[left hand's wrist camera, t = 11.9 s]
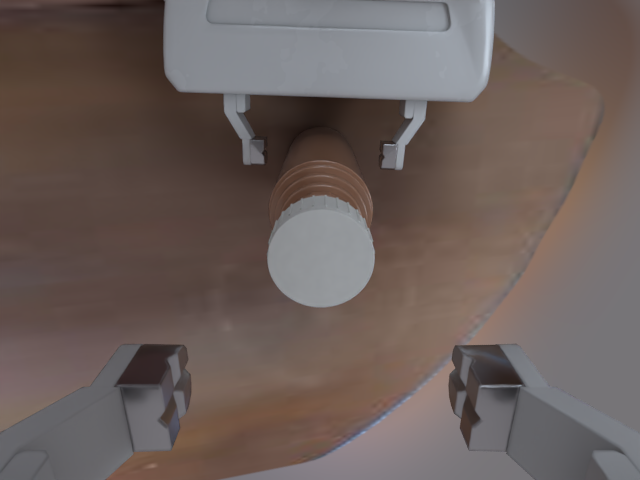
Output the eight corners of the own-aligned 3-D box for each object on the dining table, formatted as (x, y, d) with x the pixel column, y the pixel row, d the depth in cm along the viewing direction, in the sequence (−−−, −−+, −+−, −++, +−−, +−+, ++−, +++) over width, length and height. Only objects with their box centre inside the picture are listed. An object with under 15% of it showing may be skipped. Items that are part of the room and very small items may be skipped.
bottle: (295, 197, 37) (270, 326, 18) (280, 134, 35) (236, 205, 16) (358, 185, 36) (398, 303, 18) (347, 120, 34) (378, 177, 16)
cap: (283, 294, 19) (280, 317, 18) (260, 204, 18) (253, 219, 16) (377, 277, 19) (383, 299, 17) (361, 184, 18) (366, 197, 16)
